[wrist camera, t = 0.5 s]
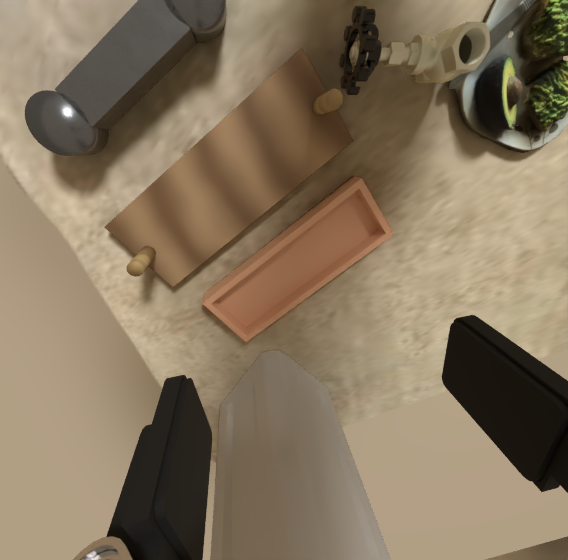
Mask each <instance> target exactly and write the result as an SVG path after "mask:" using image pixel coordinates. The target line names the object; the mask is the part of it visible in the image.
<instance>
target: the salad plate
mask: <svg viewBox="0 0 568 560" xmlns="http://www.w3.org/2000/svg"><path fill="white" fill-rule="evenodd" d="M485 23H486V24H487V26H488V30H489V35H490V49H489V51H488V53H487V54H486V56H485V58H484V59H483V60H482V62H481V63H480V65H479V66H478V67H477V68H476V70H474V71H471V72H467V73H464V74H460V75H458V76H457V77H456V78H454V79H452V80H450V83H449V87H448V88H449V89H455V90H456V93H457V97H458V104H459V109H460V113H461V116H462V118H463V120H464V122H465V123H466V125H467V126H468V127H469V128H471V129H472V130H473V131H474V132H476V133H477V134H479V135H480V136H481V137H483V138H486V139H488V140H491V141H493V142H495V143H497V144H499V145H501V146H503V147H505V148H507V149H509V150H514V151H518V152H522V153H524V152H528V151H531V150H535V149H537V148H540V147H542V146H543V145H545V144H547V143H548V142H550V141H551V140H553V139H554V138H556V137H557V136H558V135H559V134H560V133H561V132H562V131H563V130H564V128H565V127H566V126H567V124H568V61H564V60H563V56H567V55H568V0H496V1H495V3H494V5H493V6H492V8H491V11H490V13H489V16H488V18H487V20H486V22H485ZM510 30H511V31H513V32H514V35H513V37H512V38H507V37H508V34H509V32H510ZM530 78H531V80H530V82H528V83H526V82H527V81H528V79H530ZM516 125H519V126H516Z"/></svg>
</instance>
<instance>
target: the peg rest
mask: <svg viewBox="0 0 568 560" xmlns="http://www.w3.org/2000/svg"><path fill="white" fill-rule="evenodd" d="M342 103H343V95H342V93H341V91H340V90H338V89H331V90H330V91H328V92H326V90H325V88H324V86H323V84H322V83H321V81H320V79H319V77H318V75H317V74H316V72H315V70H314V68H313V66H312V64H311V63H310V61H309V59H308V57H307V55H306V53H305V52H304V50H303V48H301V49H300V50H299V51H298V52H297V53H296V54H295V55H293V56H292V57H291V58H290V59H289V60H288V61H287V62H286V63H285V64H284V65H282V66H281V67H280V68H279V69H278V70H277V71H276V72H275V73H274V74H273V75H271V76H270V77H269V78H268V79H267V80H266V81H265V82H264V83H263V84H262V85H260V86H259V87H258V88H257V89H256V90H255V91H254V92H253V93H252V94H251V95H249V96H248V97H247V98H246V99H245V100H244V101H243V102H242V103H241V104H240V105H238V106H237V107H236V108H235V109H234V110H233V111H232V112H231V113H230V114H228V115H227V116H226V117H225V118H224V119H223V120H222V121H221V122H220V123H219V124H217V125H216V126H215V127H214V128H213V129H212V130H211V131H210V132H209V133H208V134H206V135H205V136H204V137H203V138H202V139H201V140H200V141H199V142H198V143H197V144H195V145H194V146H193V147H192V148H191V149H190V150H189V151H188V152H187V153H186V154H184V155H183V156H182V157H181V158H180V159H179V160H178V161H177V162H176V163H174V164H173V165H172V166H171V167H170V168H169V169H168V170H167V171H166V172H165V173H163V174H162V175H161V176H160V177H159V178H158V179H157V180H156V181H155V182H154V183H152V184H151V185H150V186H149V187H148V188H147V189H146V190H145V191H144V192H143V193H141V194H140V195H139V196H138V197H137V198H136V199H135V200H134V201H133V202H132V203H130V204H129V205H128V206H127V207H126V208H125V209H124V210H123V211H122V212H120V213H119V214H118V215H117V216H116V217H115V218H114V219H113V220H112V221H111V222H109V223H108V224H107V225H106V226H105V227H104V228H106V229H107V230H108V231H109V232H110V233H111V234H113V235H114V236H115V237H116V238H117V239H118V240H119V241H121V242H122V243H123V244H124V245H125V246H126V247H127V248H129V249H130V250H131V251H132V252H133V253H134V254H136V256H135V257H134V258H133V259H132V260H131V262H130V263H129V264H128V265H127V272H128V273H129V274H130V275H132V276H140V275H142V274H143V272H144V271H145V269H146V268H147V267H148V266H149V267H151V268H152V269H153V270H154V271H155V272H156V273H157V274H159V275H160V276H161V277H162V278H163V279H164V280H165V281H167V282H168V283H169V284H170V285H171V286H172V287H174V286H175V285H176V284H178V283H179V282H180V281H181V280H183V279H184V278H185V277H186V276H187V275H189V274H190V273H191V272H192V271H194V270H195V269H196V268H197V267H199V266H200V265H201V264H202V263H203V262H205V261H206V260H207V259H208V258H210V257H211V256H212V255H213V254H215V253H216V252H217V251H218V250H219V249H221V248H222V247H223V246H224V245H226V244H227V243H228V242H229V241H230V240H232V239H233V238H234V237H235V236H237V235H238V234H239V233H240V232H242V231H243V230H244V229H245V228H246V227H248V226H249V225H250V224H251V223H253V222H254V221H255V220H256V219H258V218H259V217H260V216H261V215H262V214H264V213H265V212H266V211H267V210H269V209H270V208H271V207H272V206H273V205H275V204H276V203H277V202H278V201H280V200H281V199H282V198H283V197H285V196H286V195H287V194H288V193H289V192H291V191H292V190H293V189H294V188H296V187H297V186H298V185H299V184H301V183H302V182H303V181H304V180H305V179H307V178H308V177H309V176H310V175H312V174H313V173H314V172H315V171H317V170H318V169H319V168H320V167H321V166H323V165H324V164H325V163H326V162H328V161H329V160H330V159H331V158H332V157H334V156H335V155H336V154H337V153H339V152H340V151H341V150H342V149H344V148H345V147H346V146H347V145H348V144H350V143H351V142H352V141H353V139H352V137H351V135H350V134H349V132H348V130H347V128H346V126H345V125H344V123H343V121H342V119H341V117H340V115H339V114H338V112H337V110H336V109H338V108H340V106H341V105H342Z"/></svg>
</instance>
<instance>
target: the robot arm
mask: <svg viewBox="0 0 568 560" xmlns="http://www.w3.org/2000/svg"><path fill="white" fill-rule="evenodd" d="M442 381H443V384H444V385H445V387H446V388H447V389H448V390H449V392H450V393H451V394H452V395H453V396H454V397H455V398H456V400H457V401H458V402H459V403H460V404H461V405H462V407H463V408H464V409H465V410H466V411H467V412H468V413H469V415H470V416H471V417H472V418H473V419H474V420H475V422H476V423H477V424H478V425H479V426H480V427H481V428H482V430H483V431H484V432H485V433H486V434H487V435H488V436H489V437H490V439H491V440H492V441H493V442H494V443H495V444H496V445H497V447H498V448H499V449H500V450H501V451H502V452H503V454H504V455H505V456H506V457H507V458H508V459H509V461H510V462H511V463H512V464H513V465H514V466H515V467H516V469H517V470H518V471H519V472H520V473H521V474H522V475H523V476H524V477H525V478H526V479H527V480H529V481H533V483H534V484H535V485H536V486H537V487H538V488H539V489H540V491H541V492H544V491H547V490H551V489H555V488H558V487H559V486H560V485H561V486H562V487H563V488H564V489H565V491H566V492H568V381H567V380H566V379H564V378H563V377H561V376H560V375H559V374H557V373H556V372H554V371H553V370H551V369H550V368H548V367H547V366H546V365H544V364H543V363H542V362H540V361H539V360H537V359H536V358H535V357H533V356H532V355H530V354H529V353H527V352H526V351H525V350H523V349H522V348H520V347H519V346H518V345H516V344H515V343H513V342H512V341H511V340H509V339H508V338H506V337H505V336H503V335H502V334H501V333H499V332H498V331H496V330H495V329H494V328H492V327H491V326H489V325H488V324H486V323H485V322H484V321H482V320H481V319H479V318H478V317H476V316H474V315H470V316H465V317H460V318H456V319H455V320H454V322H453V323H452V324H451V326H450V332H449V338H448V344H447V349H446V355H445V361H444V367H443V373H442ZM211 448H212V432H211V428H210V425H209V423H208V420H207V417H206V415H205V412H204V409H203V407H202V404H201V401H200V399H199V396H198V393H197V391H196V388H195V386H194V383H193V380H192V379H191V378H188V379H187V378H186V376H185V375H181V376H176V377H171V378H167V379H166V380H165V382H164V386H163V389H162V392H161V395H160V399H159V402H158V405H157V409H156V412H155V415H154V419H153V422H152V424H151V425H147V426H145V427H144V428H143V430H142V432H141V434H140V437H139V440H138V444H137V446H136V449H135V452H134V455H133V459H132V461H131V464H130V467H129V470H128V473H127V476H126V479H125V483H124V485H123V488H122V492H121V494H120V498H119V501H118V503H117V506H116V510H115V513H114V516H113V518H112V522H111V524H110V528H109V531H108V534H107V537H104V538H101V539H99V540H97V541H95V542H93V543H91V544H90V545H88V546H87V547H86V548H85V549H83V550H82V551H81V552H80V553H79V554H78V555H77V556H76V557H75V558H74V559H73V560H202V558H203V546H204V534H205V521H206V509H207V496H208V484H209V472H210V460H211ZM486 560H568V537H564V538H561V539H558V540H554V541H550V542H546V543H543V544H539V545H536V546H532V547H529V548H525V549H521V550H518V551H514V552H511V553H507V554H504V555H500V556H496V557H493V558H489V559H486Z"/></svg>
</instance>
